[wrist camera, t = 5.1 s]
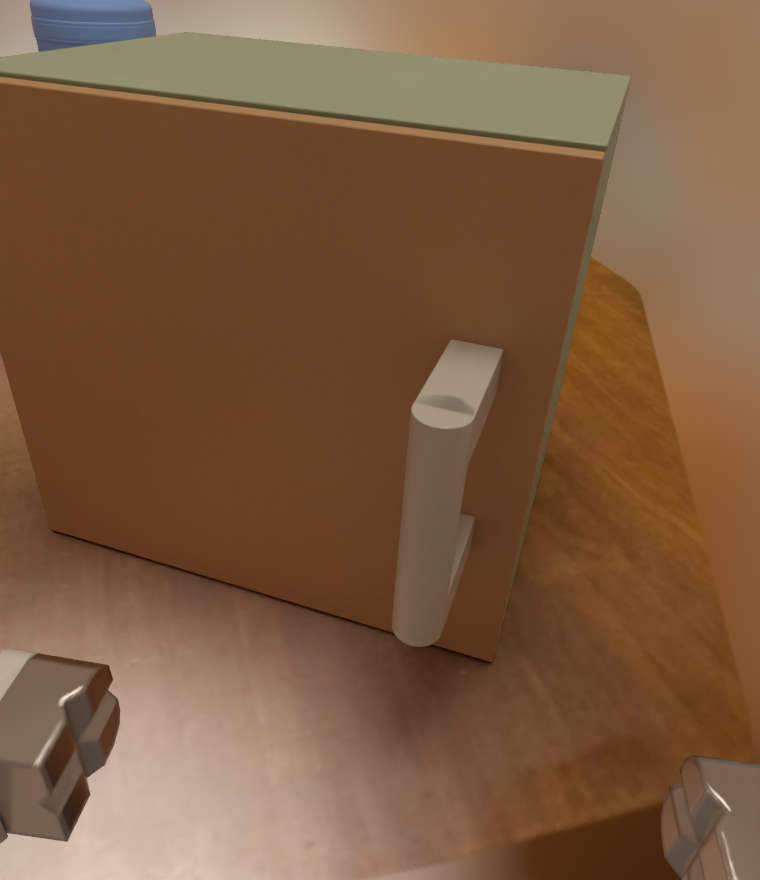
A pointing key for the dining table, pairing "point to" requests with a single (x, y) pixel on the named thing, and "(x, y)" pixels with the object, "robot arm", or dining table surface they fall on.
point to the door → (289, 344)
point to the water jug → (89, 22)
